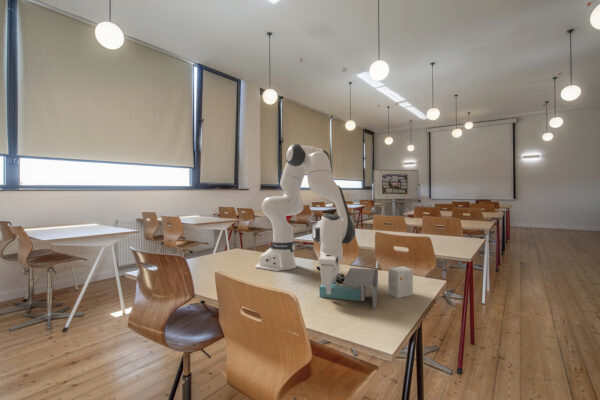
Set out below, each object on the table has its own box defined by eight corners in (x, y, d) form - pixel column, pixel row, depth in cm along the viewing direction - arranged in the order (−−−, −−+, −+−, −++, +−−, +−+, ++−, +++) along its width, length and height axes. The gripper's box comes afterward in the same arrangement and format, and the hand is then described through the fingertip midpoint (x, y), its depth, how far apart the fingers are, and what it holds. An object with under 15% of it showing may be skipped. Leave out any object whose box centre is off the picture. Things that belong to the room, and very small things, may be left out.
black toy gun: (310, 267, 158) (326, 265, 162) (310, 270, 158) (326, 268, 162) (336, 281, 133) (355, 279, 137) (336, 285, 133) (355, 282, 137)
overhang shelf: (344, 305, 108) (344, 279, 108) (350, 289, 125) (350, 267, 125) (375, 309, 105) (376, 282, 105) (377, 292, 122) (377, 269, 122)
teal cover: (319, 296, 117) (319, 286, 117) (322, 292, 122) (322, 282, 122) (360, 300, 113) (360, 290, 113) (361, 296, 118) (361, 286, 117)
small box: (403, 291, 124) (403, 266, 123) (413, 295, 119) (413, 269, 118) (387, 293, 121) (387, 268, 120) (397, 298, 115) (397, 271, 115)
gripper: (328, 249, 129) (328, 281, 129) (317, 260, 109) (317, 297, 110) (343, 250, 127) (343, 282, 127) (334, 261, 107) (334, 299, 108)
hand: (331, 289), depth 118 cm, fingers open, 8 cm apart
